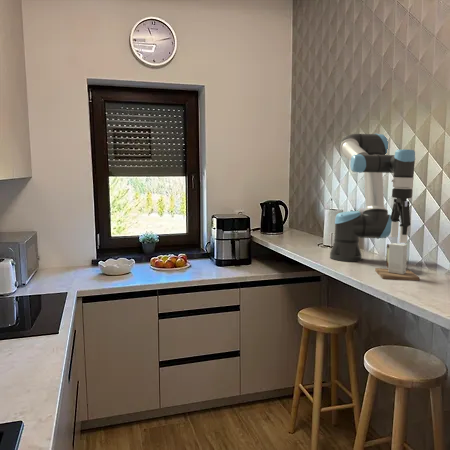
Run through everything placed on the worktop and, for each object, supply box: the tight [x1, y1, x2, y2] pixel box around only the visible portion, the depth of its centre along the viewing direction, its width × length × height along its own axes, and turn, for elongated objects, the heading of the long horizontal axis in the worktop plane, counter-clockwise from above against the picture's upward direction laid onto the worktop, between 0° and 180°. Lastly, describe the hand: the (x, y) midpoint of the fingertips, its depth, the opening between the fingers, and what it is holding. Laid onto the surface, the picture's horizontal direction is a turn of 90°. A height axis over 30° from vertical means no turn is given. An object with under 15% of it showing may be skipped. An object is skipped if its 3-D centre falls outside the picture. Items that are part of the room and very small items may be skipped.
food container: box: [385, 243, 390, 269], centre depth 187 cm, size 12×6×10 cm, turn 168°
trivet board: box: [374, 267, 420, 282], centre depth 174 cm, size 14×14×1 cm
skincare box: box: [387, 242, 408, 274], centre depth 173 cm, size 6×4×12 cm
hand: (398, 239), depth 173 cm, fingers open, 13 cm apart
